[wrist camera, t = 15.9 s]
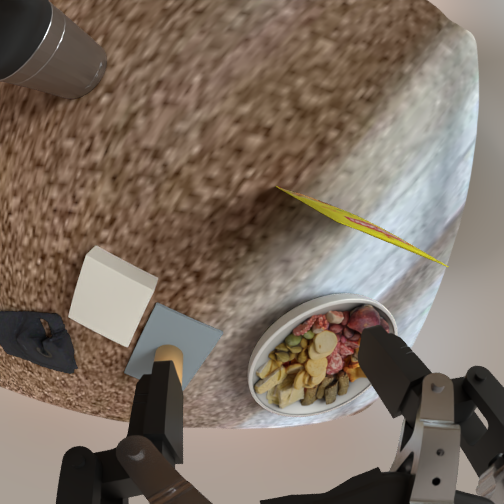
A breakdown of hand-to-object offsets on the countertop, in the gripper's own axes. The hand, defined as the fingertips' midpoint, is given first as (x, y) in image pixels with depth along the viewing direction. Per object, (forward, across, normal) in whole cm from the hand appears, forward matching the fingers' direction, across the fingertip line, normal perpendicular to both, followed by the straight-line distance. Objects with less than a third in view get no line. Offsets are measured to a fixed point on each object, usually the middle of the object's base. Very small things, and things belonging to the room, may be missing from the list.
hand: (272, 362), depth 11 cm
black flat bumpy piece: (+31, +43, +20) cm, 56 cm away
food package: (+30, -14, +1) cm, 34 cm away
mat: (+30, +13, +24) cm, 41 cm away
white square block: (+30, +19, +11) cm, 37 cm away
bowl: (+31, -16, +30) cm, 45 cm away
